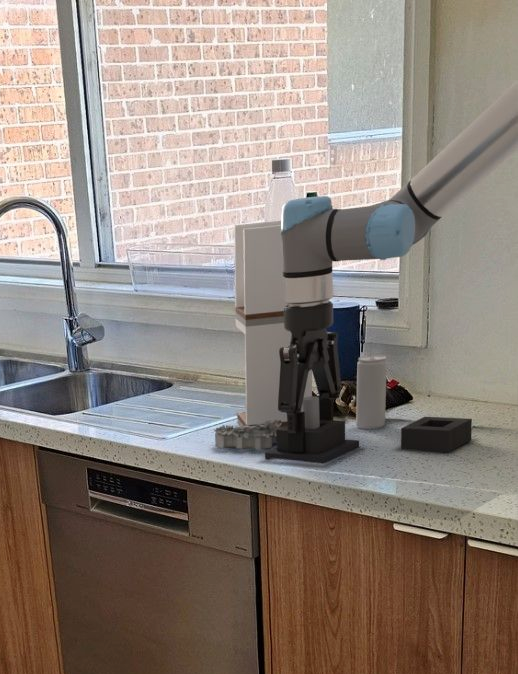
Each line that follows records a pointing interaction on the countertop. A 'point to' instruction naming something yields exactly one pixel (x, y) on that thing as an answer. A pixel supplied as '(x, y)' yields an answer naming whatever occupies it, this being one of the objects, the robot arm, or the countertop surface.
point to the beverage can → (371, 392)
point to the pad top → (436, 434)
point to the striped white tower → (261, 318)
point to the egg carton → (247, 435)
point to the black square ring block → (316, 437)
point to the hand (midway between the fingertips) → (311, 444)
